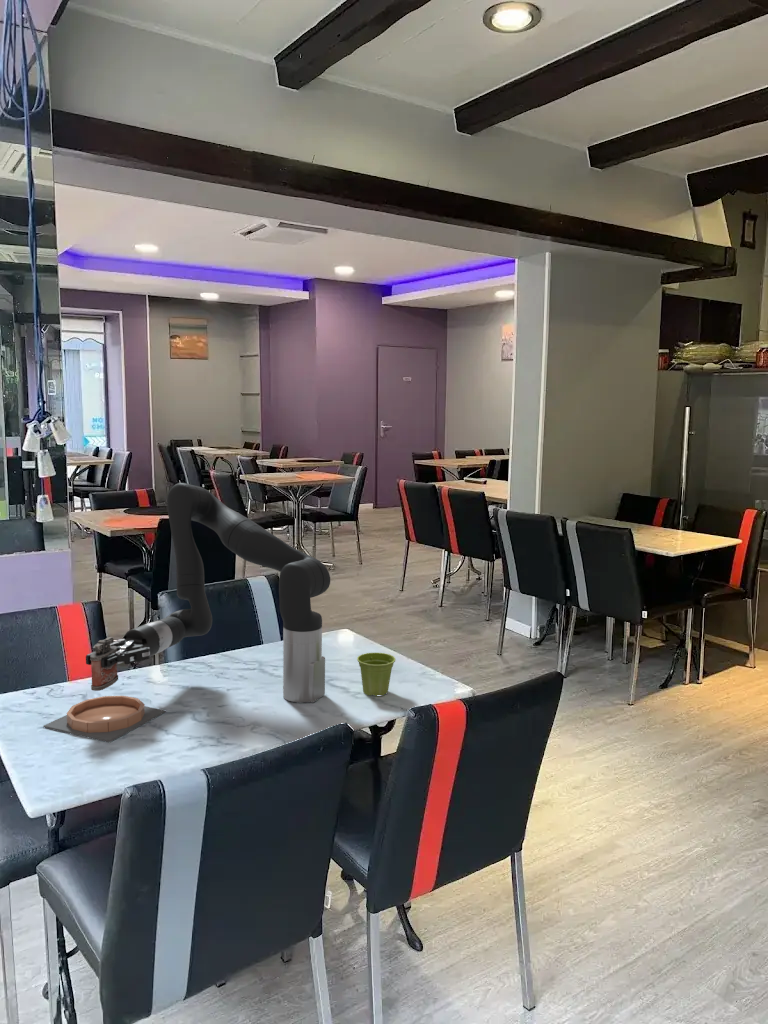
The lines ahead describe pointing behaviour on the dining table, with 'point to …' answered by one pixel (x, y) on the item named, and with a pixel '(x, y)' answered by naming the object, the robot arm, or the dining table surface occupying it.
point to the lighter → (99, 674)
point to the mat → (105, 736)
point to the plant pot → (375, 672)
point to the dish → (105, 714)
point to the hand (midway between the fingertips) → (95, 661)
